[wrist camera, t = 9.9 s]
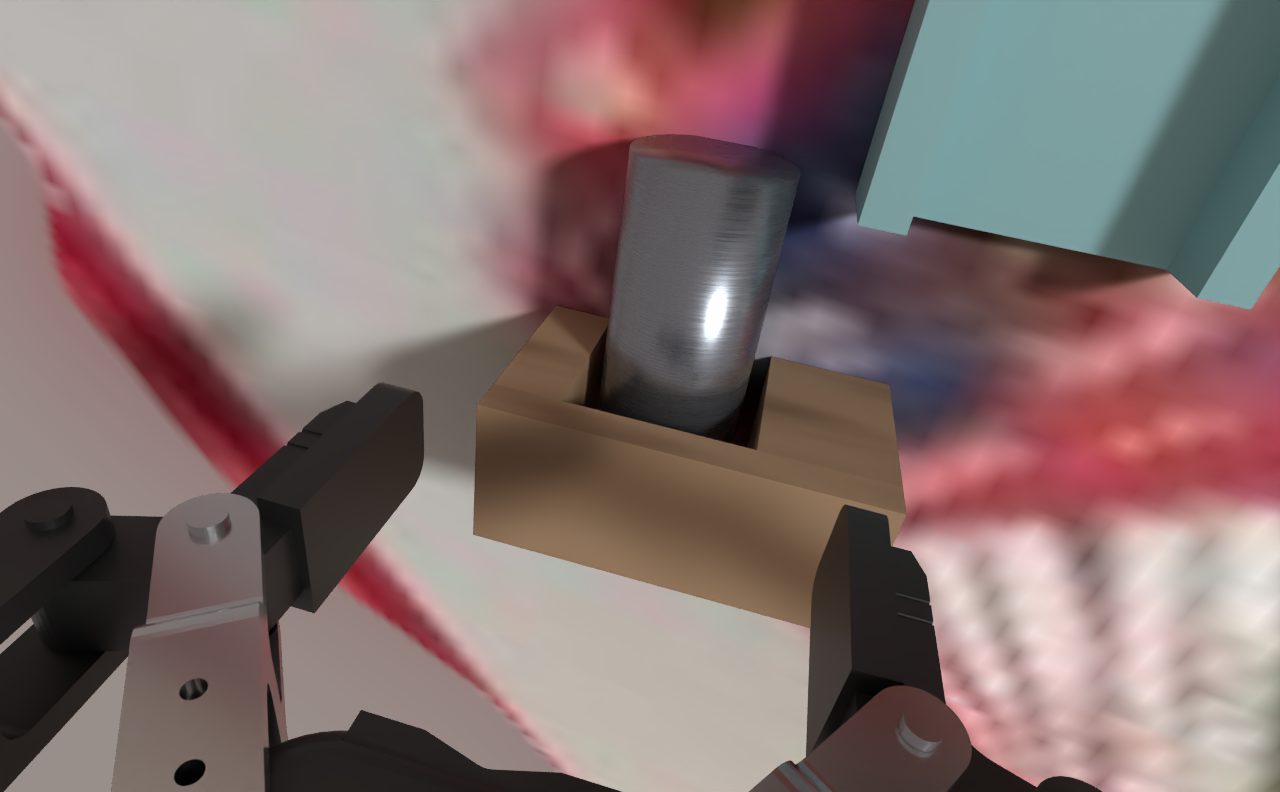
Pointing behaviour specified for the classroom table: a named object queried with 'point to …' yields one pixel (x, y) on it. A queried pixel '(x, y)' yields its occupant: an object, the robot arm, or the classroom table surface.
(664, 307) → the axle
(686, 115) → the classroom table surface
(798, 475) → the brown notched block
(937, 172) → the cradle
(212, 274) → the classroom table surface
